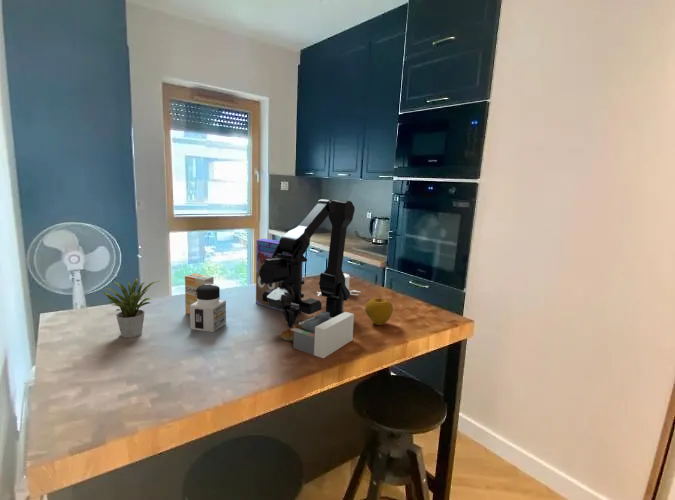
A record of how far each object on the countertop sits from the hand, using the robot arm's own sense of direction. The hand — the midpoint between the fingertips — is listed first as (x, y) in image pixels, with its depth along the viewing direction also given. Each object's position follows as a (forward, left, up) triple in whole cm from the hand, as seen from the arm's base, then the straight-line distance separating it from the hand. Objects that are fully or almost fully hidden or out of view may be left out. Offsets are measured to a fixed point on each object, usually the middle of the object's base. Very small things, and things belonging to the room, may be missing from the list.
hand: (290, 327), depth 113 cm
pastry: (+1, +4, -2) cm, 5 cm away
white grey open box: (0, +11, -2) cm, 11 cm away
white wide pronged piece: (-45, -12, -2) cm, 46 cm away
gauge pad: (+1, +9, -1) cm, 10 cm away
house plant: (+28, -34, -2) cm, 45 cm away
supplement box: (+7, -33, -2) cm, 34 cm away
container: (+12, -22, -2) cm, 26 cm away
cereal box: (-15, -18, -2) cm, 24 cm away
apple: (-24, +18, -2) cm, 30 cm away
